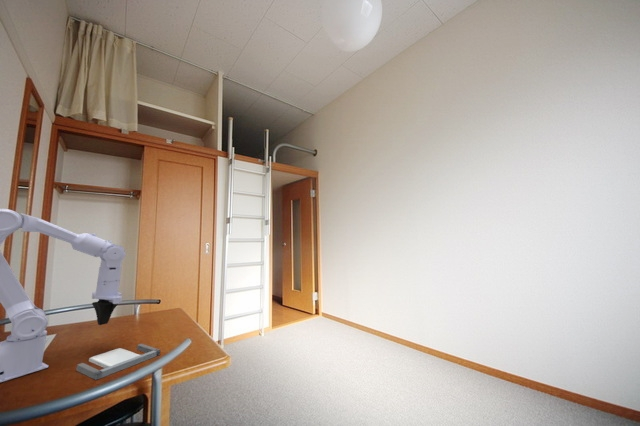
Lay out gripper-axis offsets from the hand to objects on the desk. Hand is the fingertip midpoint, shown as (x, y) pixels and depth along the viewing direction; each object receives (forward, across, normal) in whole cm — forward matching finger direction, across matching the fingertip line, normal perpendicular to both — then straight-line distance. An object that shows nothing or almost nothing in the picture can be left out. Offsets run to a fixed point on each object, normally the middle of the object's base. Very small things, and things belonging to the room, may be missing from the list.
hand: (102, 323), depth 79 cm
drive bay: (+9, -13, 0) cm, 16 cm away
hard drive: (+10, -10, 0) cm, 14 cm away
